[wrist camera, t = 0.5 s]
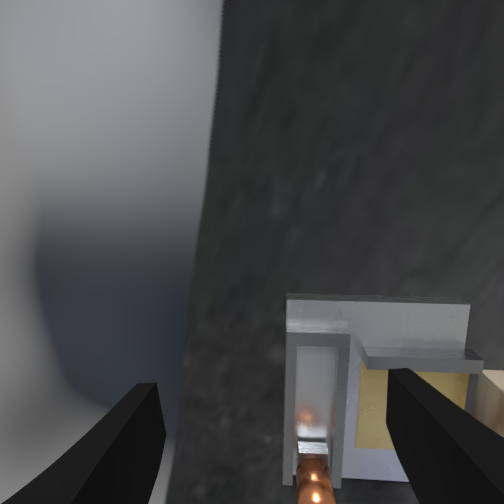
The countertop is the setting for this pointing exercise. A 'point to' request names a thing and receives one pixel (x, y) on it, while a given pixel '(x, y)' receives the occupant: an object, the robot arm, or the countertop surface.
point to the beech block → (490, 400)
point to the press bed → (365, 373)
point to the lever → (313, 474)
